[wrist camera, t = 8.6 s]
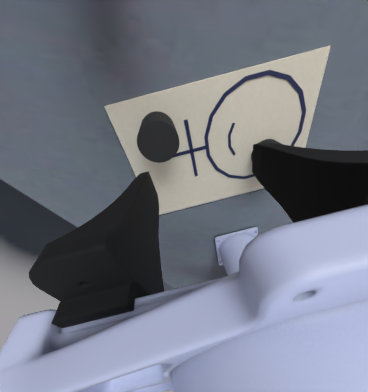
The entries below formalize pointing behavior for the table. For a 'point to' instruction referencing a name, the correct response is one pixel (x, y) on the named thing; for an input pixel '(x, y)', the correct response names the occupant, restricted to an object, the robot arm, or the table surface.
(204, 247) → the table surface
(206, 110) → the drawing card
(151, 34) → the table surface
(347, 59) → the table surface
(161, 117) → the black cylinder
